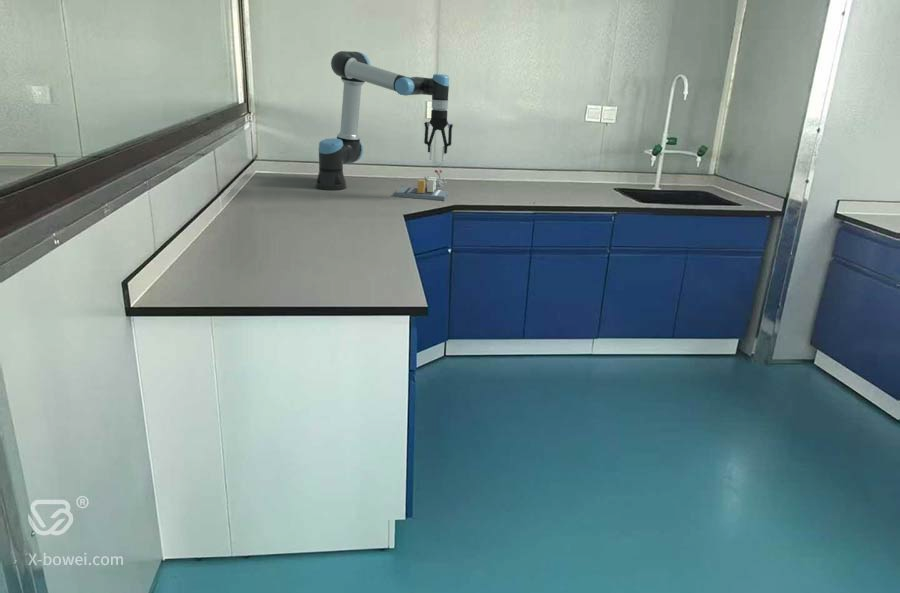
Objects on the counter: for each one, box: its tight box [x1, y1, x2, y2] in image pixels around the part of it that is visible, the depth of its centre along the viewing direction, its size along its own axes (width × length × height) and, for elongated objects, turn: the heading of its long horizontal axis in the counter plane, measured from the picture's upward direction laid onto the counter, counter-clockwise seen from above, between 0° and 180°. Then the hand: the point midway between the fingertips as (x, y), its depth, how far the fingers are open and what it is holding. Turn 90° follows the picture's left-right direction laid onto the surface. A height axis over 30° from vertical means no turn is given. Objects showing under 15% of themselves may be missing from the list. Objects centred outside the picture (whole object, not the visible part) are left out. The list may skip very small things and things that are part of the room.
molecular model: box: [424, 166, 447, 188], centre depth 328 cm, size 19×10×10 cm, turn 154°
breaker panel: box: [395, 176, 449, 202], centre depth 311 cm, size 24×14×8 cm, turn 82°
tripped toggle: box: [417, 178, 426, 193], centre depth 307 cm, size 3×3×6 cm
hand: (436, 159), depth 301 cm, fingers open, 5 cm apart
